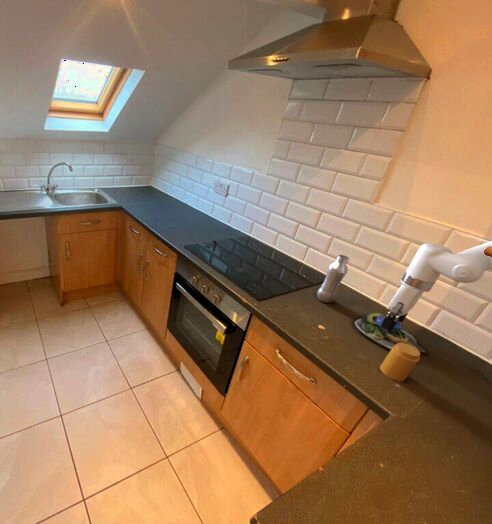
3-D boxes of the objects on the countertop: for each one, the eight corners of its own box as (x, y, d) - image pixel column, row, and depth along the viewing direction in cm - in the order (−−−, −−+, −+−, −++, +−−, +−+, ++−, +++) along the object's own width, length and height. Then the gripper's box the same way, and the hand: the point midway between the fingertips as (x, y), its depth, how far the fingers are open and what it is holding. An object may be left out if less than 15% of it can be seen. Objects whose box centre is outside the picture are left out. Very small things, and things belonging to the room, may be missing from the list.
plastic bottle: (335, 302, 122) (356, 258, 113) (327, 306, 119) (348, 262, 109) (320, 294, 127) (339, 251, 117) (311, 298, 123) (331, 254, 114)
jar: (400, 372, 90) (418, 346, 85) (406, 387, 85) (426, 360, 80) (376, 364, 92) (392, 338, 87) (380, 378, 87) (398, 351, 82)
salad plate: (432, 348, 102) (439, 338, 99) (408, 365, 93) (416, 354, 91) (371, 315, 116) (377, 305, 114) (346, 327, 108) (352, 317, 105)
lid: (377, 326, 102) (379, 323, 102) (373, 316, 108) (375, 312, 107) (401, 334, 100) (404, 330, 99) (396, 323, 106) (399, 319, 105)
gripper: (412, 270, 102) (388, 311, 110) (393, 282, 93) (369, 325, 101) (440, 281, 97) (413, 322, 105) (423, 294, 88) (394, 338, 96)
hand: (391, 324), depth 103 cm, fingers open, 9 cm apart
